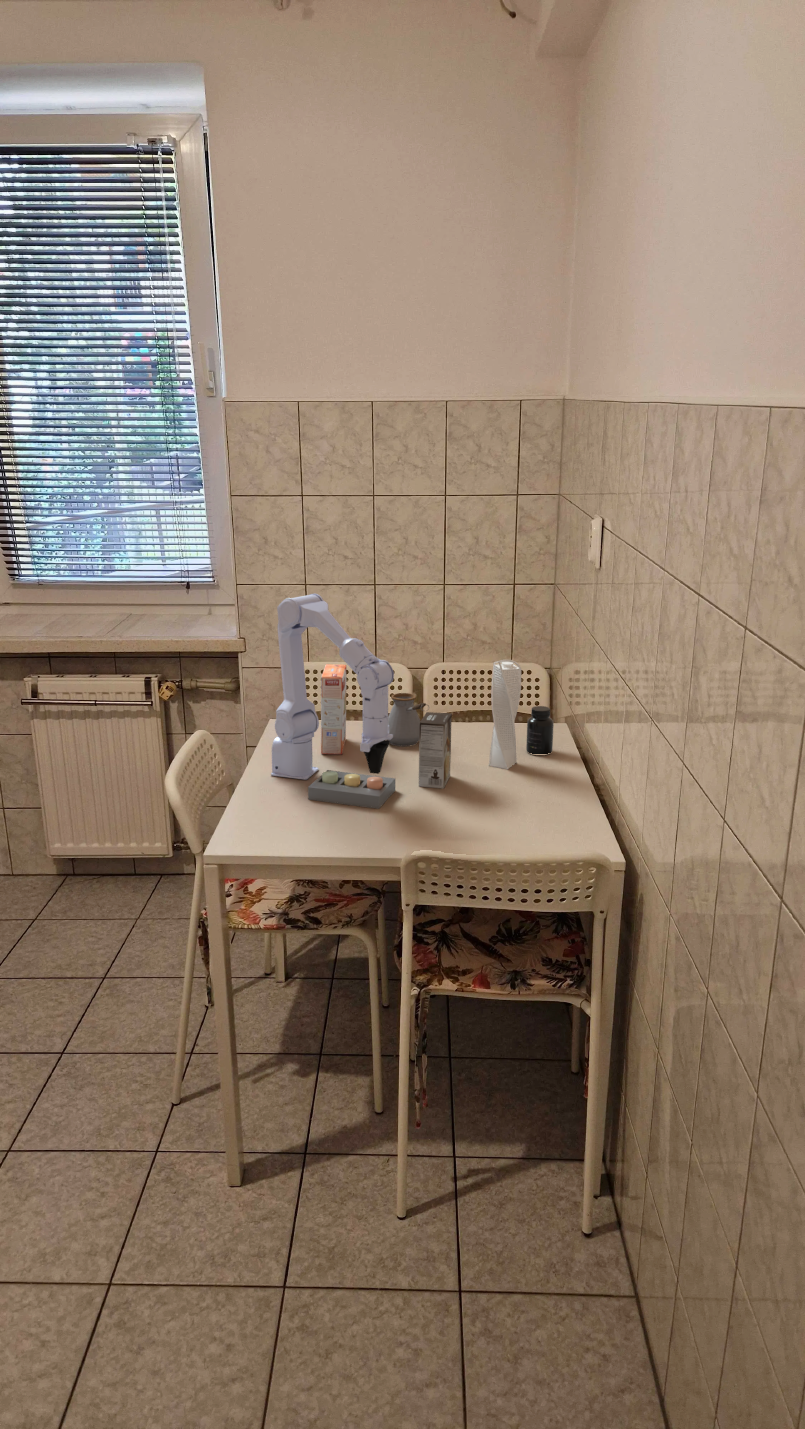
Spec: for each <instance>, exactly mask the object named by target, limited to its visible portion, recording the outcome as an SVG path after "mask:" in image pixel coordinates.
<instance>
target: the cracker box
mask: <svg viewBox="0 0 805 1429" xmlns="http://www.w3.org/2000/svg"><path fill="white" fill-rule="evenodd" d="M320 683H321V684H320V704H321V705H320V716H321V717H320V719H321V720H320V729H321V730H320V754H321V755H337V756H338V755H339V756H341V755H343V751H344V747H345V742H346V736H347V735H346V734H347V733H346V732H347V731H346V730H347V724H346V723H347V664H341V663H340V664H333V663H331V664H330V663H326V664H325V666H324V669H323V672H322V674H321V677H320Z"/></svg>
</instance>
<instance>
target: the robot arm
mask: <svg viewBox="0 0 805 1429" xmlns="http://www.w3.org/2000/svg"><path fill="white" fill-rule="evenodd" d="M276 608H277V609H276V611H277V619H278V622H277V636H278V637H277V638H278V646H279V647H278V649H279V660H280V670H281V671H280V672H281V680H282V694H283V701H282V703H281V704H280V705H279V706H278V707H277V709H276V710H275V714H276V716H275V722H274V729H275V733H276V737H275V738H274V739H273V741H272V744H271V773H270V775H271V776H274V777H282V778H288V779H289V778H290V779H298V780H305V781H307V780H308V779H310V777H312V775H314V774H315V773H316V772H318V771H319V767H315V766H313V738H315V733H316V732H318V729H319V725H320V720H319V717H318V714H317V712H316V707H315V705H316V704H314V703H313V702H312V701H310V700H309V699H308V697H307V696H308V695H307V685H306V674H305V673H306V672H305V663H304V648H303V640H302V639H303V638H302V634H303V633H305V631H306V630H307V629H308V627H310V628H317V629H318V631H320V632H321V633H322V635H323V634H324V636H325V637H326V638H327V639H329V640H330V641H331V642H332V643H333V644H334V645H335V646H336V647H337V648H338V649H339V652H338V654H339V658H341V659H342V660H343V662H344V663H345V664H346V666H349V668H350V670H352V671H353V672H354V673H355V674H356V681H357V683H358V686H359V688H360V695H361V696H362V733H361V742H360V743H359V744H360V745H359V746H360V749H359V751H360V752H363V754H364V756H365V759H366V761H367V766H368V770H369V773H370V774H377V775H378V774H380V773H381V771H382V767H383V762H384V757H385V755H386V752H387V750H388V747H390V745H391V744H390V742H389V741H388V740H391V739H392V738H393V735H392V734H389V725H388V716H389V685H391V684H392V683H393V680H394V679H395V672H394V669H393V666H392V665H391V664H390V662H389V661H388V660H385V659H380V658H379V657H377V656H376V655H375V654H373V652H371V651H370V650H369V648H368V647H367V646H366V645H365V642H364V641H363V640H362V639H359V638H357V637H356V638H355V637H354V638H352V637H351V636H350V635H349V634H348V633H347V631H345V629H344V628H343V627H342V626H341V624H340V623H339V622H338V621H337V619H336V618H335V617H334V616H333V614H332V613H331V612H330V610H329V609H330V608H329V603H328V602H326V601H325V600H324V599H323V597H322V596H321V595H320V594H318V593H310V594H306V595H302V596H295V597H291V598H290V597H286V598H285V599H283V600H282V601H281V602H280V603H279V605H277V606H276ZM386 739H388V740H386Z"/></svg>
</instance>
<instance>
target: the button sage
mask: <svg viewBox="0 0 805 1429" xmlns="http://www.w3.org/2000/svg"><path fill="white" fill-rule="evenodd" d="M334 771H335V770H331V771H327V770H326V771H323V772H321V775H322V783H330V784H336V783H337V782H338V773H337V772H334Z"/></svg>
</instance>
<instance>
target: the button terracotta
mask: <svg viewBox="0 0 805 1429" xmlns="http://www.w3.org/2000/svg"><path fill="white" fill-rule="evenodd" d="M381 777H382V776H380V777H369V778H368V779H367V788H369V789H377V790H381V789H382V788H383V779H382V778H381Z"/></svg>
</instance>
